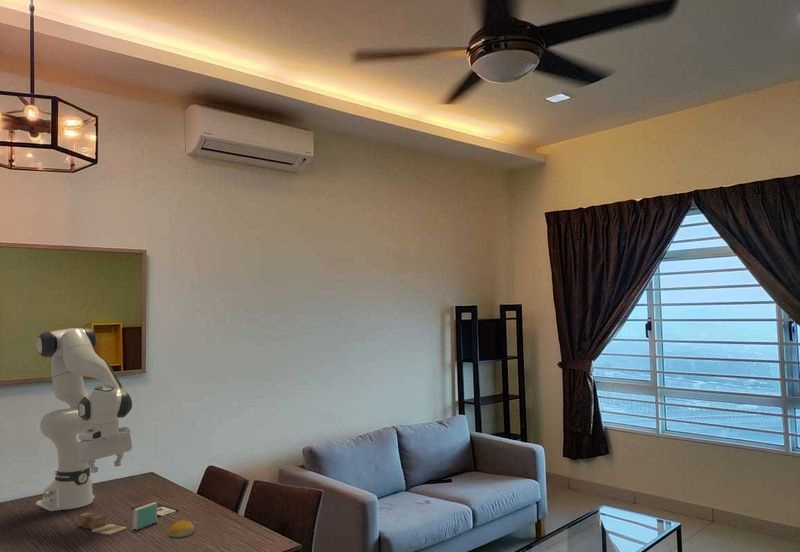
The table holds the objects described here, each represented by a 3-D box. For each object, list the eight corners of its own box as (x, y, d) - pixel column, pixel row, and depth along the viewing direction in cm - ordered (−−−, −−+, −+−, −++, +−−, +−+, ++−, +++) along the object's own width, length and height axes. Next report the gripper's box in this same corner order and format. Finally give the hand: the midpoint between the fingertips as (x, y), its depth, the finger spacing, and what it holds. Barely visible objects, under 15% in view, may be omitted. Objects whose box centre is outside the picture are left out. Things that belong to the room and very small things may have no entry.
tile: (133, 529, 208) (133, 509, 209) (153, 521, 216) (154, 502, 217) (136, 530, 207) (136, 510, 208) (157, 522, 215) (157, 502, 216)
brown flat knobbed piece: (73, 528, 210) (73, 516, 211) (91, 522, 217) (91, 510, 217) (109, 536, 202) (109, 524, 202) (126, 529, 208) (126, 518, 209)
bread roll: (168, 539, 198) (169, 527, 198) (169, 531, 207) (169, 519, 207) (194, 536, 201) (194, 524, 201) (194, 527, 209) (194, 516, 210)
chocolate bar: (153, 501, 238) (179, 509, 228) (153, 504, 238) (178, 512, 228) (132, 507, 231) (157, 516, 220) (132, 510, 231) (157, 518, 220)
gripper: (123, 425, 225) (124, 462, 224) (74, 435, 207) (74, 475, 205) (135, 425, 222) (136, 462, 221) (86, 436, 204) (86, 476, 203)
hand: (106, 469), depth 213 cm, fingers open, 8 cm apart
